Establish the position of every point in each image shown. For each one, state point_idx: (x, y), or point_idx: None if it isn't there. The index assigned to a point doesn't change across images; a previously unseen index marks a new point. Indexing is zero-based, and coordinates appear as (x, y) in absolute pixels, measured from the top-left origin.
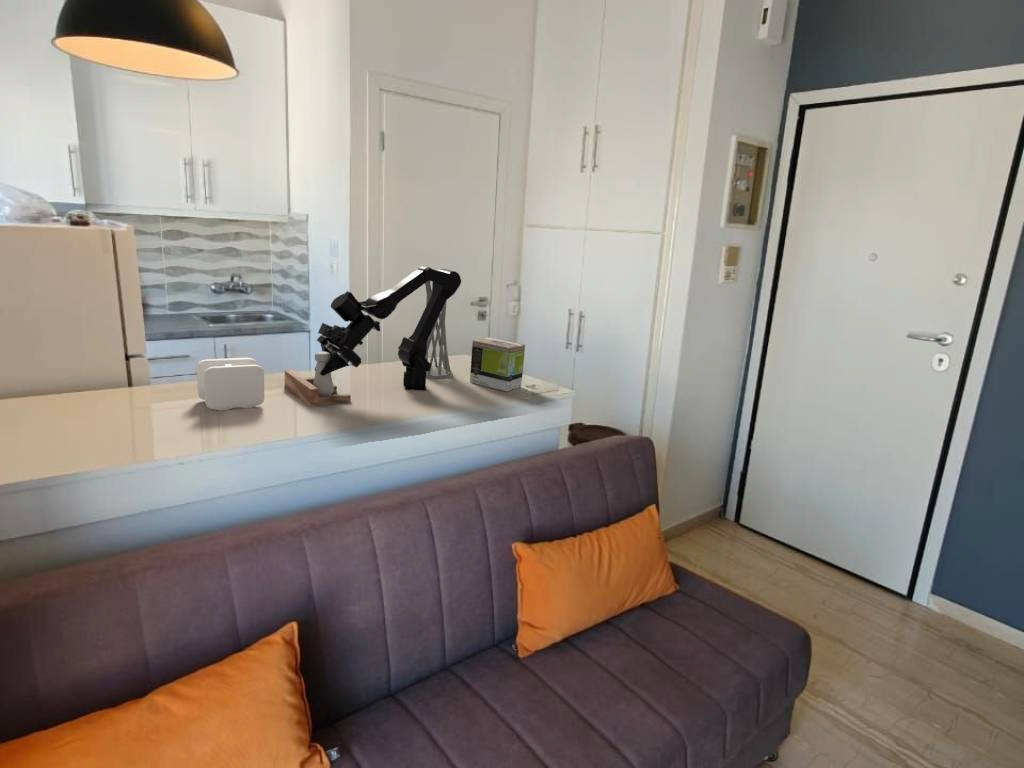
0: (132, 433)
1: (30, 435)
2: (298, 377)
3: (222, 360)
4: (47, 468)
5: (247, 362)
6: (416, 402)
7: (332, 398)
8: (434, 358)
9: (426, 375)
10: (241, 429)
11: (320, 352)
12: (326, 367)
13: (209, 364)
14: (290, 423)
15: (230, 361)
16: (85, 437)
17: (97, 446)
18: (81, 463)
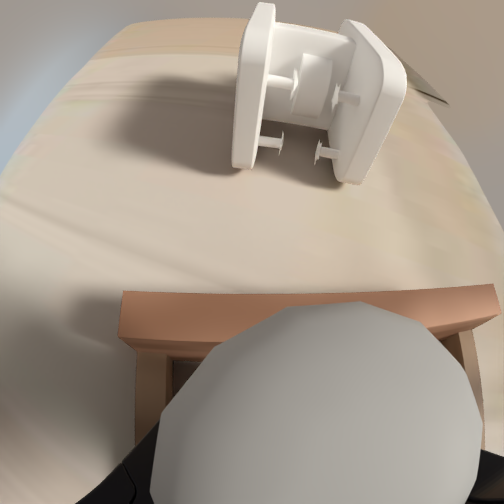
0: (190, 45)
1: (236, 21)
2: (400, 312)
3: (356, 29)
4: (139, 27)
5: (370, 63)
6: None
7: (136, 432)
8: None
9: None
10: (99, 118)
11: (381, 423)
12: (143, 440)
13: (344, 28)
14: (51, 203)
15: (359, 38)
16: (204, 31)
17: (168, 35)
18: (130, 34)
